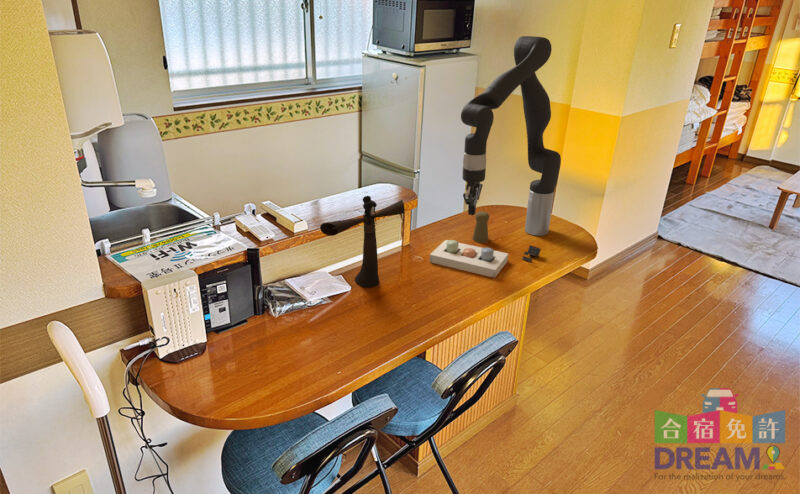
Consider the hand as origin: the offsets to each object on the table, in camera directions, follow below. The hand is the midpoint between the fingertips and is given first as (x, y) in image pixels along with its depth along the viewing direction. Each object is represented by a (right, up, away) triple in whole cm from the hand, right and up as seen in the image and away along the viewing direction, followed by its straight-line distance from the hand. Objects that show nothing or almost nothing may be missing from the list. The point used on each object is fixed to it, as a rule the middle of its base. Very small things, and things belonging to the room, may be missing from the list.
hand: (471, 214), depth 188 cm
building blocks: (+22, -16, +8) cm, 28 cm away
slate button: (+5, -16, +2) cm, 17 cm away
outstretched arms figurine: (-36, -23, -8) cm, 43 cm away
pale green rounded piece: (-6, -13, +7) cm, 16 cm away
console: (0, -16, +5) cm, 17 cm away
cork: (+6, -8, +22) cm, 25 cm away
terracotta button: (0, -16, +5) cm, 17 cm away
